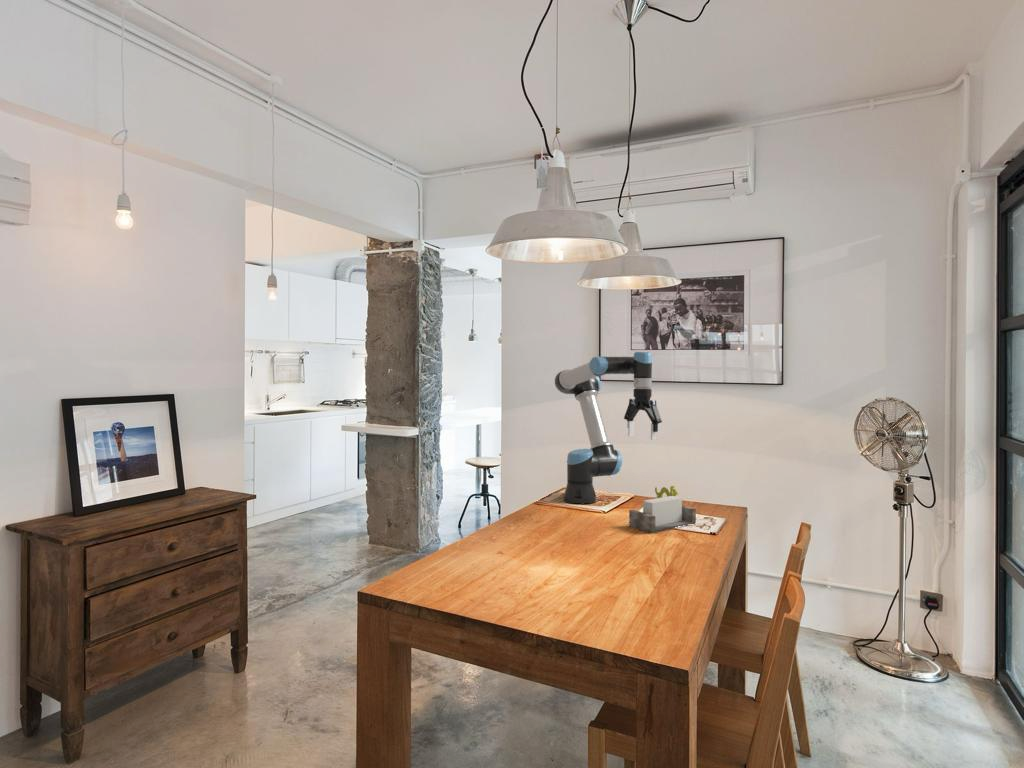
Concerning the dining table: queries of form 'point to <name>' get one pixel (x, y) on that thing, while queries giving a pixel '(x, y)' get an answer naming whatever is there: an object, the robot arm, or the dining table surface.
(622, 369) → the robot arm
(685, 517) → the cradle rack
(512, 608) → the dining table surface
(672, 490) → the green plant sprig
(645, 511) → the light grey block
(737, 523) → the dining table surface
